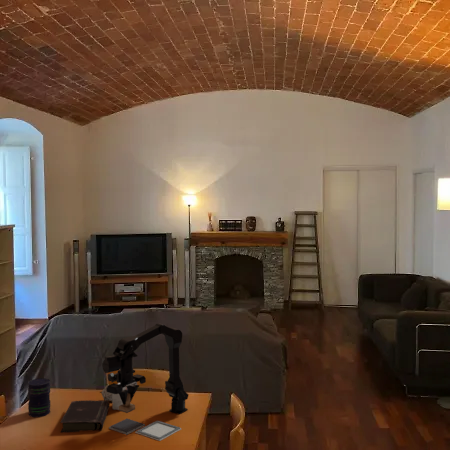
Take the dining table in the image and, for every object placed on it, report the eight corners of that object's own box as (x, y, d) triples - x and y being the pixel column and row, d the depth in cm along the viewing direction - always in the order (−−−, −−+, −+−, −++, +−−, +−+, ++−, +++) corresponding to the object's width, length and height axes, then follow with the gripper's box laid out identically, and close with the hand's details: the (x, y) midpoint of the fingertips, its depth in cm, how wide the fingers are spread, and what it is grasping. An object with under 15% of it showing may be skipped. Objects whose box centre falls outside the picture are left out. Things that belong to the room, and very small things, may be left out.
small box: (123, 410, 250) (123, 388, 250) (112, 409, 251) (111, 387, 251) (129, 404, 258) (129, 383, 257) (118, 403, 259) (118, 382, 258)
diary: (109, 410, 252) (109, 399, 252) (102, 432, 228) (102, 421, 227) (69, 410, 251) (69, 400, 250) (58, 433, 226) (58, 422, 226)
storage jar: (28, 418, 240) (28, 386, 240) (27, 411, 249) (27, 379, 249) (51, 415, 244) (51, 383, 244) (49, 407, 253) (49, 377, 253)
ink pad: (126, 419, 239) (126, 417, 239) (144, 425, 233) (144, 423, 233) (108, 428, 230) (108, 426, 230) (126, 434, 224) (126, 432, 224)
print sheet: (157, 421, 237) (157, 420, 237) (181, 429, 229) (181, 427, 229) (135, 432, 226) (135, 431, 226) (160, 441, 218) (160, 439, 218)
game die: (113, 407, 263) (125, 391, 264) (104, 407, 255) (117, 390, 256) (101, 396, 267) (114, 379, 268) (93, 395, 259) (105, 378, 260)
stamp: (126, 406, 235) (126, 391, 234) (135, 409, 232) (134, 393, 231) (118, 410, 230) (118, 394, 230) (126, 413, 228) (126, 397, 227)
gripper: (128, 359, 243) (128, 393, 243) (97, 370, 227) (98, 406, 228) (146, 363, 236) (146, 398, 237) (115, 375, 221) (116, 411, 222)
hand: (126, 403), depth 231 cm, fingers closed on stamp, 3 cm apart
